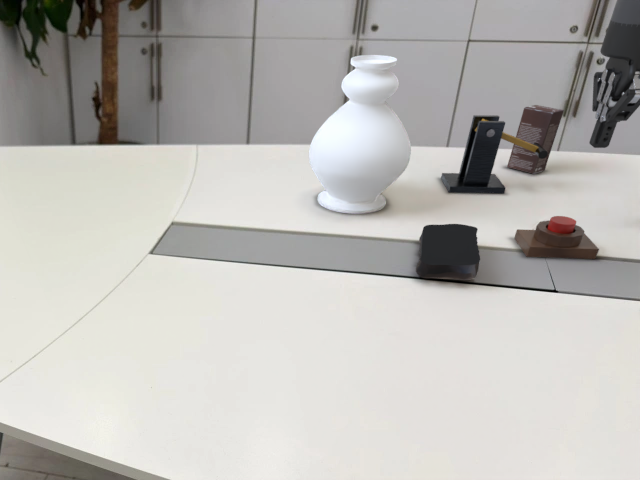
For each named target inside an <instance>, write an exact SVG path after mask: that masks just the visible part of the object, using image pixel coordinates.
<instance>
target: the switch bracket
mask: <svg viewBox="0 0 640 480" xmlns="http://www.w3.org/2000/svg"><path fill="white" fill-rule="evenodd" d="M482 119H485V120H488V121H481V120H482ZM505 126H506V121H504V120H500V115H489V114H486V115H485V114H484V115H480V114H479V115H478V114H474V115H473V116H472V120H471V124H470V128H469V131H468V132H469V133H468V136H467V140H466V144H465V148H464V152H463V156H462V160H461V164H460V168H459V172H457V173H456V172H454V173H453V172H442V173H441V177H440V181H442V183H443V185H444V187H445V188H446V190H447V192H448V193H452V194H453V193H454V194H456V193H458V194H499V195H504V194H505V192H506V186H505V185H504V183H503V182H502V181H501V180H500V178H499V177H498V176H497V175H496V174H495V173H493V169H494V166H495V161H496V158H497V155H498V151H499V148H500V144H501V140H502V139H501V137H502V133H503V132H504V129H505ZM476 128H477V130H476V131H475V129H476Z"/></svg>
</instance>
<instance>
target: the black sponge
mask: <svg viewBox="0 0 640 480" xmlns="http://www.w3.org/2000/svg"><path fill="white" fill-rule="evenodd" d="M477 233H478V227H476V226H473V225H467V224H462V223H461V224H460V223H446V224H426V225H424V226H423V228H422V231H421V234H420V236H419V238H418V243H419V244H420V245H419V258H418V262H417V265H416V267H415V272H416V274H417V276H418V277H420V278H422V279H441V280H442V279H443V280H456V281H457V280H459V281H466V280H468V281H470V280H474V279H476V278H477V276H478V272H479V267H480V263H481V262H480V261H481V255H480V249H479V244H478V237H477V236H478V235H477Z"/></svg>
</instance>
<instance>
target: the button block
mask: <svg viewBox="0 0 640 480" xmlns="http://www.w3.org/2000/svg"><path fill="white" fill-rule="evenodd" d="M549 222H550V220H544V221H540V222H539V223H538V224H537V225H536V227H535V229H516V232H515V235H514V241H515V242H516V243H517V245H518V247H519V248H520V249H521V251H522V252H523V254H524V255H525V256H526V257H527V258H550V259H551V258H552V259H553V258H555V259H579V260H580V259H582V260H583V259H584V260H596V258H597V256H598V253H599V251H600V248H599V247H598V246H597V245H596V243H594V242H593V241H592V240H591V238H589V236H588V235H586V233H585V230H584V229H583V228H582V226H579V225H577V224H576V225H575V228H574V230H573V233H570V234H561V233H556V232H552V231H550V230H548V229H547V227H548V224H549Z"/></svg>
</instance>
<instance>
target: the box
mask: <svg viewBox="0 0 640 480" xmlns="http://www.w3.org/2000/svg"><path fill="white" fill-rule="evenodd" d="M564 111H565V109H561V108H554V107H549V106H544V105H538V104H534V105H530V106H529V105H528V106H525V107H524V108H523V111H522V114H521V117H520V120H519V125H518V127H517V131H516V135H515V137H516V138H519V139H521V140H523V141H526V142H528V143H531V144H533V143H539V144H540V145H541V146H542V147H543V148H544V149H545V150H546V151H547V152H548V155H547V156H546V157H545V158H543V159H540V158H539V157H538V156H537V155H536V154H535V153H534V152H532V151H530V150H527V149H525V148H523V147H520V146H518V145H515V144H513V145H512V149H511V152H510V156H509V159H508V161H507V168H510V169H512V170H513V169H514V170H517V171H521V172H525V173H529V174H532V175H536V174H538V173H541V172H543V171H545V169H546V167H547V164H548V162H549V161H548V160H549V158H550V155H551V152H552V148H553V146H554V142H555V139H556V137H557V133H558V130H559V126H560V124H561V121H562V118H563V114H564Z"/></svg>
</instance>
